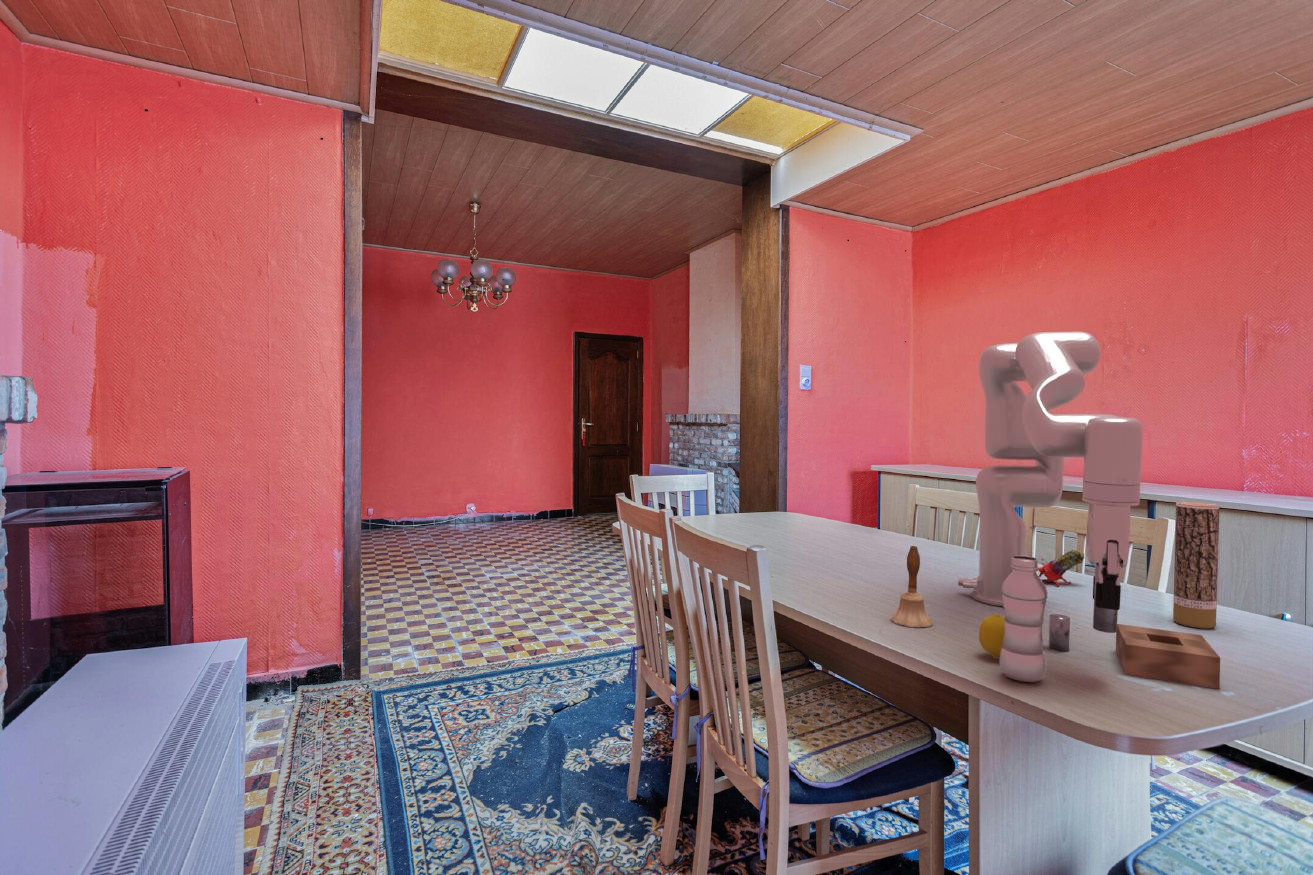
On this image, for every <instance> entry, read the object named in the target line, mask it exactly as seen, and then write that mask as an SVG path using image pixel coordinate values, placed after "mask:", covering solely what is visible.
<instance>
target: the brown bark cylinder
mask: <svg viewBox="0 0 1313 875" xmlns="http://www.w3.org/2000/svg"><path fill="white" fill-rule="evenodd" d="M1219 506H1220V505H1218V504H1213V503H1208V502H1207V503H1206V502H1192V501H1191V502H1190V501H1179V502H1178V501H1177V502H1176V503H1175V526H1174V527H1175V529H1174V530H1175V531H1174V564H1173V566H1174V568H1173V569H1174V570H1173V601H1172V602H1173V606H1172V607H1173V610H1172V611H1173V612H1172V617H1173V621H1174V622H1176V623H1177V624H1179V625H1182V626H1185V627H1187V628H1194V629H1201V630H1202V629H1205V630H1206V629H1207V630H1210V629H1213V628H1215V627H1216V625H1217V607H1218V606H1217V605H1218V604H1217V603H1218V575H1219V574H1218V570H1219V536H1220V533H1219V532H1220V507H1219Z"/></svg>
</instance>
